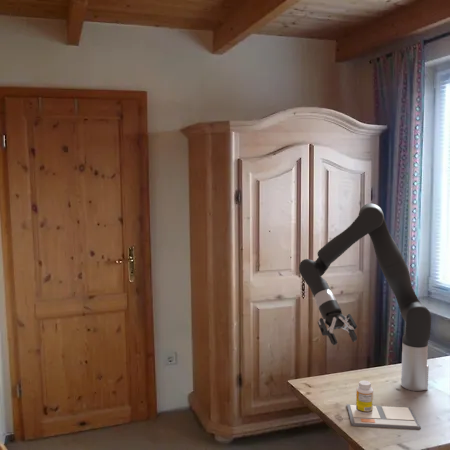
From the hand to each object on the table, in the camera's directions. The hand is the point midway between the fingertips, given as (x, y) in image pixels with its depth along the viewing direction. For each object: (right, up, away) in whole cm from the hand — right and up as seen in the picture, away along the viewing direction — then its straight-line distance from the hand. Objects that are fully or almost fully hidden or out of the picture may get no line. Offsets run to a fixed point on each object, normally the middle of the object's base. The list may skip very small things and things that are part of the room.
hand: (345, 342), depth 183 cm
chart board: (+10, -23, -11) cm, 27 cm away
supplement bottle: (+5, -22, -8) cm, 24 cm away
